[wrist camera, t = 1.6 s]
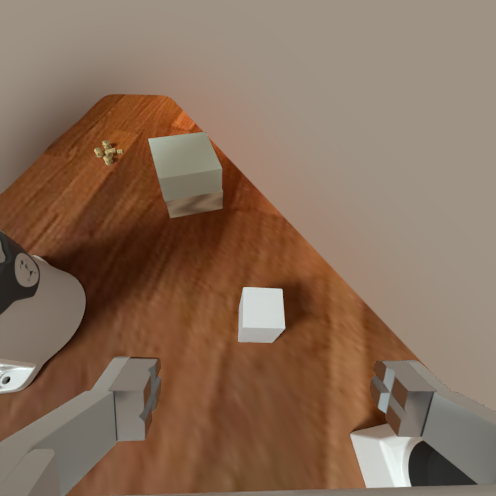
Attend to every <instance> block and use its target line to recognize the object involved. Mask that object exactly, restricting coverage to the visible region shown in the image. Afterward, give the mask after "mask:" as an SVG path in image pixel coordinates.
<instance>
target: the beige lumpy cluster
mask: <svg viewBox="0 0 496 496" xmlns="http://www.w3.org/2000/svg"><path fill="white" fill-rule="evenodd" d="M102 143H103V145H104V148H105V149H106V151H105V154H106V156H104V153H103V151H102V149H101V148H95V149H94V151H95V153H96V155H97V157H103V156H104V157H103V159H104V161H105V163H106V164H107V165H111V164H113V160H112V157H113V154H112V153H115V152H116V151H115V149H114V148H113V149H111V148H112V147H111V144H110V142H109V141H108V140H105V141H103V142H102ZM117 153H118V154H123V152H122V149H121V150H117Z"/></svg>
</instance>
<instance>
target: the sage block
mask: <svg viewBox="0 0 496 496" xmlns="http://www.w3.org/2000/svg"><path fill="white" fill-rule="evenodd" d="M148 140H149V144H150V148H151V152H152V156H153V160H154V163H155V167H156V171H157V175H158V179H159V183H160V186H161V190H162V194H163V198H164V201H165V202H166V201H171V200H176V199H182V198H187V197H192V196H197V195H203V194H208V193H213V192H218V191H222V167H221V165H220V162H219V160H218V158H217V156H216V154H215V151H214V149H213V147H212V145H211V142H210V140H209V138H208V136H207V134H206V132H200V133H192V134H184V135H176V136H167V137H159V138H151V139H148Z"/></svg>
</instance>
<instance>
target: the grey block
mask: <svg viewBox="0 0 496 496" xmlns="http://www.w3.org/2000/svg"><path fill="white" fill-rule="evenodd" d="M284 329H285V319H284V306H283V293H282V289H275V288H251V287H243V292H242V296H241V301H240V306H239V332H238V342H270V343H273V342H274V341H275V339H276V338H277V337H278V336H279V335H280V334H281V333H282V332H283V330H284Z"/></svg>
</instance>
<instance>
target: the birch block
mask: <svg viewBox="0 0 496 496" xmlns="http://www.w3.org/2000/svg"><path fill="white" fill-rule="evenodd" d="M166 204H167V208H168V211H169V215H170V218H175V217H180V216H186V215H191V214H196V213H202V212H207V211H213V210H218V209H223V189H222V191H218V192H213V193H208V194H203V195H197V196H192V197H187V198H182V199H176V200H171V201H166Z"/></svg>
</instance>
